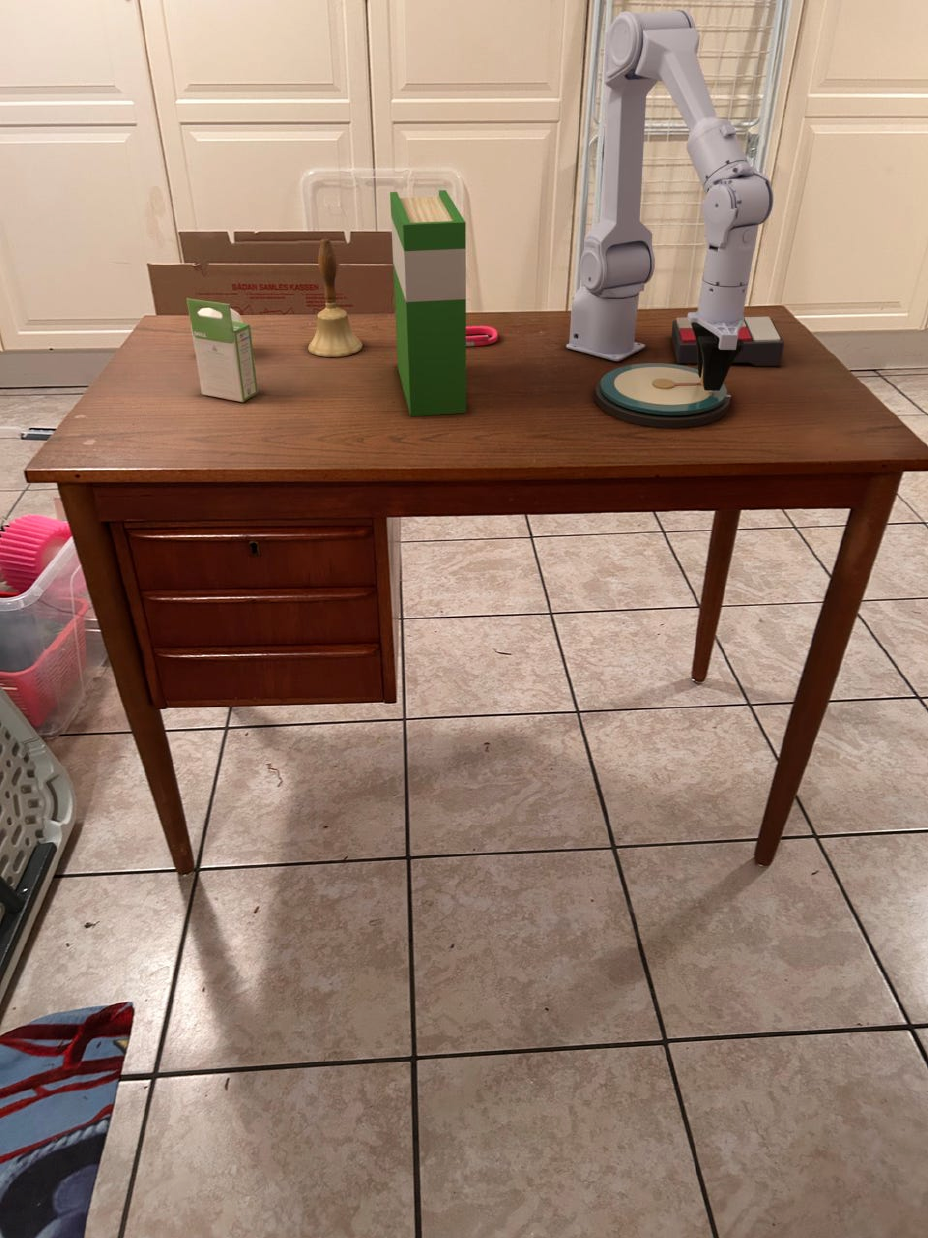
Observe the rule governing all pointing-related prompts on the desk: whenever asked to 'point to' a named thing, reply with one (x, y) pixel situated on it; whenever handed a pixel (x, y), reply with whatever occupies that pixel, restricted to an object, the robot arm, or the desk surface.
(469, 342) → the fitness band
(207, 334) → the ink box
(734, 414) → the desk surface
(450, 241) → the hardback book
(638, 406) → the turntable with peg
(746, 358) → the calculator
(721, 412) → the stand
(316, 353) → the hand bell
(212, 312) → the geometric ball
